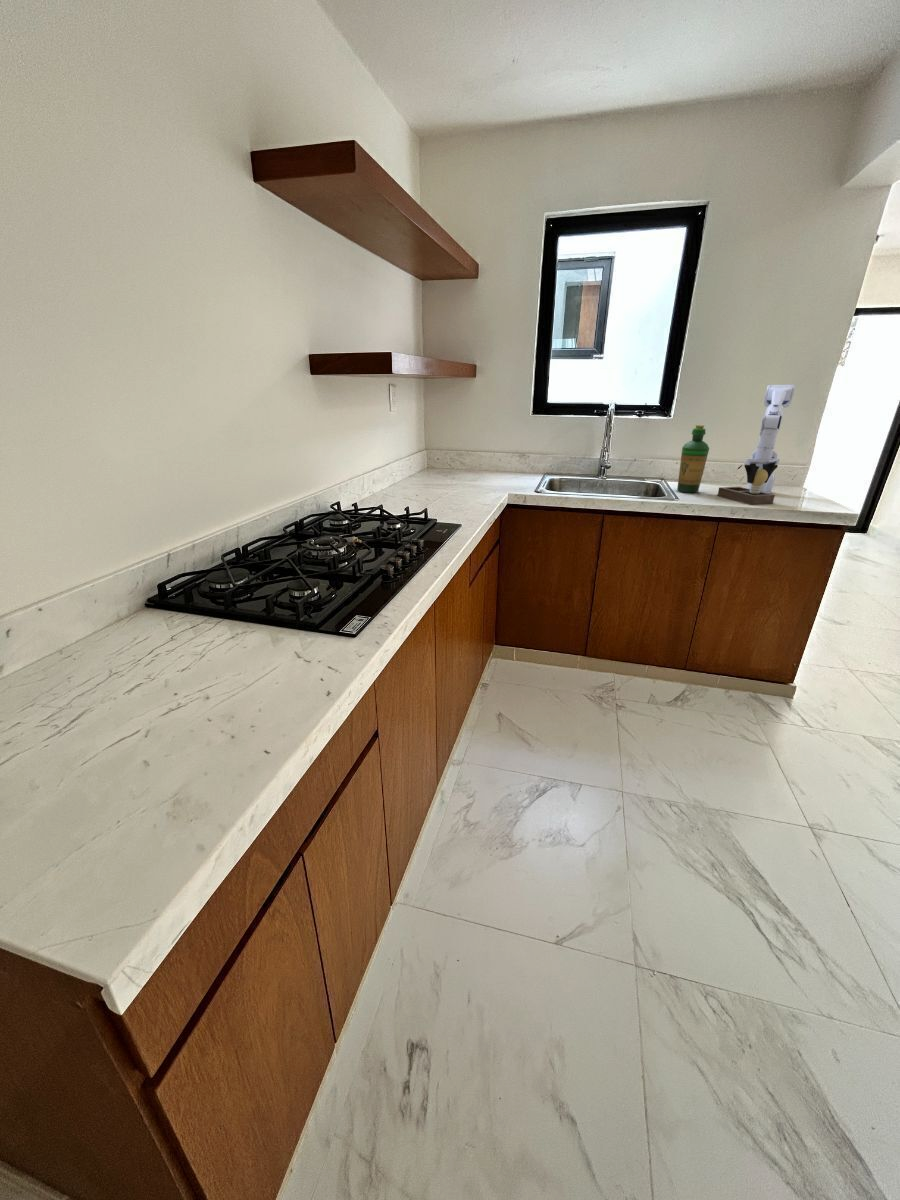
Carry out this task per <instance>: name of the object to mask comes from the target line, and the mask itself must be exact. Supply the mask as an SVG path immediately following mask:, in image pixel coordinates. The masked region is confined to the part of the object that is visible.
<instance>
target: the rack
mask: <svg viewBox="0 0 900 1200" xmlns="http://www.w3.org/2000/svg"><path fill="white" fill-rule="evenodd" d="M749 491H750V489H747V487H742V486H722V487H721V486H720V487H718V490H717V496H718V497H721V498H725V499H728V500H731V501H732V500H733V501H736V502H740V503H744V504H747V505H754V506H755V505H770V504H774V500H775V496H776V495H775V494H774V493H765V492H760V493H759V494H751V493H750V492H749Z"/></svg>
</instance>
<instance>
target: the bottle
mask: <svg viewBox="0 0 900 1200" xmlns="http://www.w3.org/2000/svg"><path fill="white" fill-rule="evenodd" d="M691 435H692V438H691V440H689V441H688V442H686V443H685V444H684V445H683V446H682V447H681V454H680V455H681V456H680V457H681V458H680V463H679V471H678V480H677V490H676V491H678V492H679V493H684V494H696V493H698V492H699V490H700V486H701V482H702V478H703V474H704V471H705V467H706V463H707V459H708V455H709V451H710V447H709V445H708V444H707V442H705V441H704V437H705V435H706V428H705V425H701V424H696V425H695V427H694V428H693V429H692V431H691Z"/></svg>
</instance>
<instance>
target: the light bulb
mask: <svg viewBox="0 0 900 1200" xmlns="http://www.w3.org/2000/svg"><path fill="white" fill-rule="evenodd" d="M767 478H768V473H767V471H766V470H764V469H761V468H759V469H758V470H757V472H756V475H755V478H754V481H753V483H751V484H752V485H751V488H750V491H749V492H750V493H751V494H759V493H760V490H761V489H760V488H761V485H762V484H763V483H764V482H765V481H766V480H767Z"/></svg>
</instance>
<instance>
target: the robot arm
mask: <svg viewBox="0 0 900 1200" xmlns="http://www.w3.org/2000/svg"><path fill="white" fill-rule="evenodd" d="M795 389H796V385H795V384H768V385H767V387H766V391H765V395H764V402H763V404H764V405H763V406H764V407H765V408H766V410H765V412H764V413H765V414H764V416H763V415H762V418H761V422H760V428H759V437H758V441H757V445H756V449H755V450H754V451H753V452H752V453H751V456H750V458H746V459H744V466H743V467H744V470H745V473H746V480H747V481H746V483H747V486H746V488H747V489H750V488H751V485H752V484H751V483H753V481H754V478H755V475H756V472H757V470H758V469H759V468H761V469H764V470H766V471H767V473H768V478H767V480H766V481H765V482H764V483H763V484H762V485H761V488H760V489H761V490H760V492H765V493H769V494H774V492H773V487H774V483H775V474H774V471H775V470H776V469H777V468H778V467H779V466H778V464H780V458H778V452H777V451H775V450H774V449H775V445H776V441H777V438H778V437H777V436H778V433H779V431H780V429H781V426H782V422H783V415H784V414H783V412H784V409H787V408H789V407H790V405H791V404H792V401H793V398H794V394H795Z"/></svg>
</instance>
